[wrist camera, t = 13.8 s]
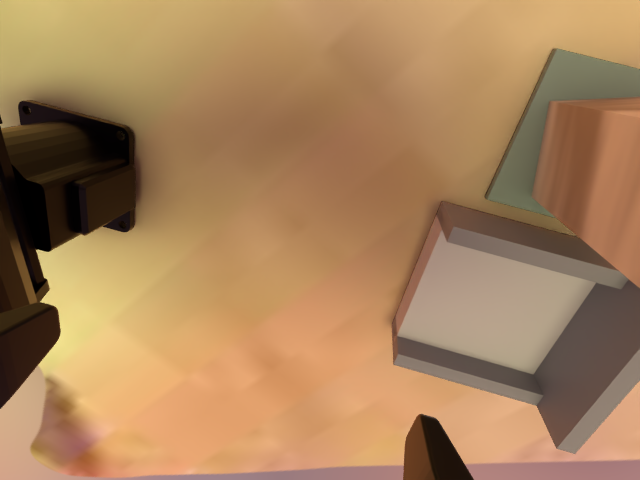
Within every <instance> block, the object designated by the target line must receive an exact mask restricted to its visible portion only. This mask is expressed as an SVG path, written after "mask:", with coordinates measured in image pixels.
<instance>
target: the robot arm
mask: <svg viewBox="0 0 640 480" xmlns="http://www.w3.org/2000/svg"><path fill="white" fill-rule="evenodd" d="M29 108H30V110H31V112H30V111H29ZM18 109H19V116H20V124H21V125H20V126H14V127H7V128H1V127H0V409H1V407H3V406H4V404H5V403H6V402H7V401H8V400H9V399H10V398H11V397H12V396H13V395H14V393H15V392H16V391H17V390H18V389H19V388H20V386H21V385H22V384H23V383H24V381H25V380H26V379H27V378H28V376H29V375H30V374H31V373H32V372H33V370H34V369H35V368H36V367H37V366H38V364H39V363H40V362H41V361H42V359H43V358H44V357H45V356H46V354H47V353H48V352H49V351H50V350H51V348H52V347H53V346H54V345H55V343H56V342H57V341H58V339H59V336H60V332H61V330H60V322H59V314H58V310H57V308H56V307H55V306H52V305H49V304H45V303H41V302H40V301H41V300H42V298H43V297H44V296H45V295H46V293H47V292H48V291H49V289H50V288H49V285H48V281H47V279H45V278H44V276H43V272H42V269H41V266H40V262H39V259H38V255H37V252H36V250H37V249H39V250H42V251H46V252H49V251H51V250H53V249H55V248H57V247H58V246H60V245H62V244H64V243H66V242H68V241H69V240H71V239H73V238H75V237H77V236H79V235H80V234H81V235H87V234H89V233H91V232H93V231H95V230H96V229H98V228H100V227H102V226H103V227H106V228H110V229H114V230H117V231H121V232H128V231H129V230H131V229H132V228H133V227H134V208H135V168H134V136H133V132H132V131H131V129H130V128H129V127H127V126H125V125H121V124H117V123H114V122H110V121H106V120H102V119H99V118H95V117H91V116H88V115H84V114H80V113H76V112H73V111H69V110H65V109H62V108H58V107H54V106H50V105H47V104H43V103H39V102H36V101H32V100H27V101H21V102H20V103H19V105H18ZM0 124H2V120H1V116H0ZM121 132H123V133H124V135H125V139H124V138H123V137H122V136H121ZM123 222H125V224H126V226H125V225H124V224H123ZM403 476H404V477H403V480H474V479H473V477H472V476H471V474H470V473H469V471H468V469H467V468H466V466H465V464H464V463H463V461H462V459H461V458H460V456H459V454H458V453H457V451H456V449H455V448H454V446H453V444H452V443H451V441H450V439H449V438H448V436H447V434H446V433H445V431H444V429H443V428H442V426H441V424H440V423H439V421H438V420H437V419H436V418H434V417H431V416H427V415H424V414H419V415H418V416H417V417H416V419H415V421H414V423H413V425H412V427H411V429H410V431H409V433H408V435H407V437H406V442H405V454H404V475H403Z"/></svg>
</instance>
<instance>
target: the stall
mask: <svg viewBox="0 0 640 480" xmlns="http://www.w3.org/2000/svg"><path fill="white" fill-rule="evenodd" d="M392 341H393V364H394V365H397V366H400V367H404V368H407V369H411V370H414V371H417V372H421V373H424V374H428V375H431V376H435V377H438V378H442V379H445V380H449V381H452V382H456V383H459V384H463V385H466V386H470V387H473V388H477V389H480V390H484V391H487V392H491V393H494V394H498V395H501V396H505V397H508V398H512V399H515V400H519V401H522V402H526V403H529V404H533V405H536V406H537V408H538V410H539V412H540V414H541V416H542V418H543V420H544V423H545V425H546V427H547V429H548V431H549V433H550V436H551V438H552V440H553V442H554V444H555V446H556V448H557V449H560V450H563V451H567V452H570V453H573V454H575V453H576V452H577V451H578V450H579V449H580V448H581V447H582V445H583V444H584V443H585V442H586V441H587V440H588V439H589V438H590V436H591V435H592V434H593V433H594V432H595V431H596V430H597V428H598V427H599V426H600V425H601V424H602V423H603V422H604V420H605V419H606V418H607V417H608V416H609V415H610V414H611V412H612V411H613V410H614V409H615V408H616V407H617V406H618V404H619V403H620V402H621V401H622V400H623V399H624V398H625V397H626V395H627V394H628V393H629V392H630V391H631V390H632V389H633V387H634V386H635V385H636V384H637V383H638V382H639V381H640V288H639V287H638V286H636V285H635V284H634V283H633V282H632V281H630V280H629V279H628V278H627V277H626V276H624V275H623V274H622V273H621V272H620V271H619V270H617V269H616V268H615V267H614V266H613V265H611V264H610V263H609V262H608V261H607V260H606V259H604V258H603V257H602V256H601V255H600V254H598V253H597V252H596V251H595V250H594V249H592V248H591V247H590V246H589V245H588V244H587V243H585V242H584V241H583V240H582V239H581V238H577V237H574V236H570V235H566V234H562V233H559V232H555V231H551V230H548V229H544V228H540V227H536V226H533V225H529V224H525V223H521V222H518V221H514V220H510V219H507V218H503V217H499V216H495V215H492V214H488V213H484V212H480V211H477V210H473V209H469V208H465V207H462V206H458V205H454V204H451V203H447V202H443V201H442V202H441V204H440V207H439V209H438V212H437V214H436V217H435V219H434V222H433V224H432V227H431V229H430V232H429V234H428V237H427V239H426V242H425V244H424V246H423V249H422V251H421V254H420V256H419V259H418V261H417V264H416V266H415V269H414V271H413V274H412V276H411V279H410V281H409V284H408V286H407V288H406V291H405V293H404V296H403V298H402V301H401V303H400V306H399V308H398V311H397V313H396V316H395V318H394V321H393V323H392Z"/></svg>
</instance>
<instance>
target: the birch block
mask: <svg viewBox="0 0 640 480" xmlns="http://www.w3.org/2000/svg"><path fill="white" fill-rule="evenodd" d="M531 197H532V198H533V199H534V200H536V201H537V202H538V203H539V204H540V205H541V206H543V207H544V208H545V209H546V210H547V211H549V212H550V213H551V214H552V215H553V216H554V217H556V218H557V219H558V220H559V221H560V222H562V223H563V224H564V225H565V226H566V227H568V228H569V229H570V230H571V231H572V232H573V233H575V234H576V235H577V236H578V237H579V238H581V239H582V240H583V241H584V242H585V243H587V244H588V245H589V246H590V247H591V248H592V249H594V250H595V251H596V252H597V253H598V254H600V255H601V256H602V257H603V258H604V259H606V260H607V261H608V262H609V263H610V264H611V265H613V266H614V267H615V268H616V269H617V270H619V271H620V272H621V273H622V274H623V275H624V276H626V277H627V278H628V279H629V280H630V281H632V282H633V283H634V284H635V285H636V286H638V287H639V288H640V97H622V98H601V99H581V100H561V101H549V106H548V112H547V117H546V122H545V127H544V133H543V138H542V143H541V149H540V154H539V159H538V165H537V170H536V175H535V180H534V186H533V191H532V196H531Z"/></svg>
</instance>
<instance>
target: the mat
mask: <svg viewBox="0 0 640 480" xmlns="http://www.w3.org/2000/svg"><path fill="white" fill-rule="evenodd" d="M622 97H640V69H637V68H633V67H629V66H625V65H621V64H617V63H613V62H609V61H605V60H601V59H597V58H593V57H589V56H585V55H581V54H577V53H573V52H569V51H565V50H561V49H553V50H552V53H551V55H550V57H549V59H548V61H547V64H546V66H545V68H544V70H543V72H542V74H541V77H540V79H539V81H538V83H537V85H536V87H535V90H534V92H533V94H532V96H531V98H530V100H529V103H528V105H527V107H526V109H525V111H524V114H523V116H522V118H521V120H520V122H519V124H518V127H517V129H516V131H515V133H514V135H513V137H512V140H511V142H510V144H509V146H508V148H507V150H506V153H505V155H504V157H503V159H502V161H501V164H500V166H499V168H498V170H497V172H496V174H495V177H494V179H493V181H492V183H491V185H490V187H489V190H488V192H487V194H486V196H485V198H486V199H487V200H490V201H494V202H498V203H502V204H505V205H509V206H513V207H517V208H520V209H524V210H528V211H532V212H535V213H539V214H543V215H547V216H550V217H554V216H553V215H552V214H551V213H550V212H549V211H547V210H546V209H545V208H544V207H543V206H541V205H540V204H539V203H538V202H537V201H536V200H534V199H533V198H532V197H531V196H532V191H533V186H534V180H535V175H536V170H537V165H538V159H539V154H540V149H541V143H542V138H543V133H544V127H545V122H546V117H547V112H548V106H549V101H561V100H581V99H601V98H622ZM554 218H556V217H554Z"/></svg>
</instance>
